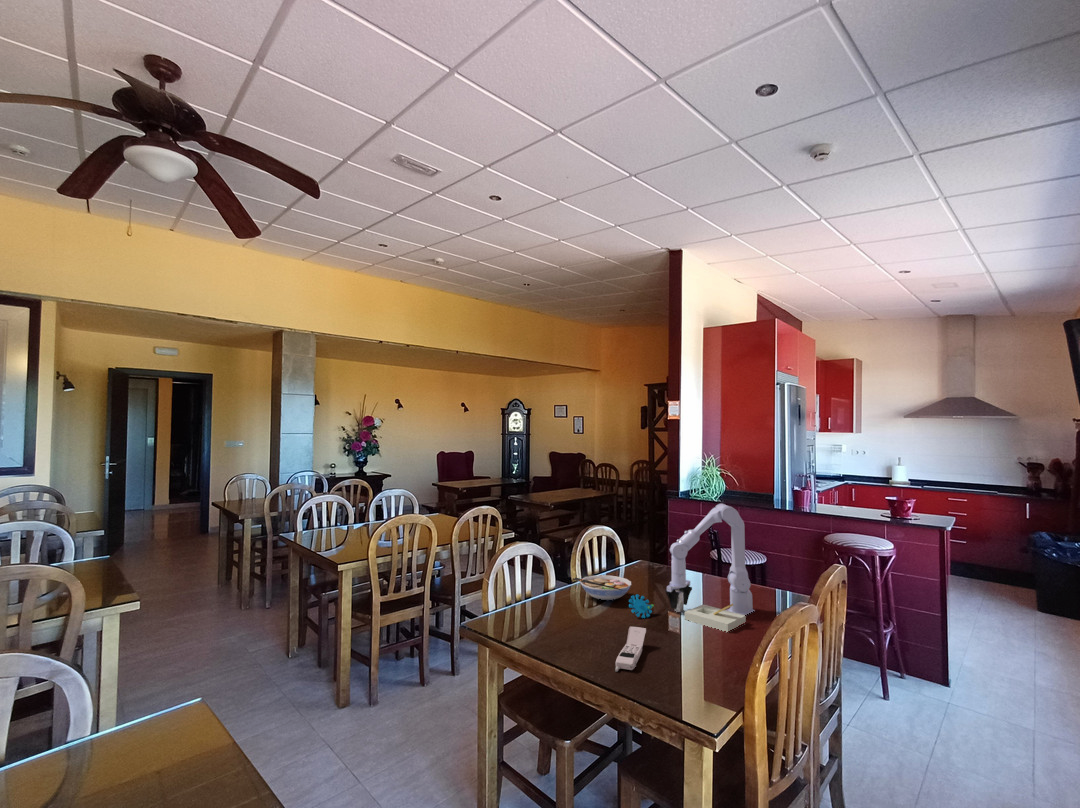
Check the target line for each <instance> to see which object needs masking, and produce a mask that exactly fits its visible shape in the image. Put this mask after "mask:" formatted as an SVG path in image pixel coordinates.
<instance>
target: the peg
mask: <svg viewBox="0 0 1080 808" xmlns="http://www.w3.org/2000/svg"><path fill="white" fill-rule="evenodd" d="M675 591H676V592H679V596H678V600H677V608H676V609H674V612H675V611H676V612H675V613H677V612H683V613H685V611H684V610H685V609H684V608H685V607H684V606H685V605H684V599H683V591H680V590H679V589H676V590H675Z"/></svg>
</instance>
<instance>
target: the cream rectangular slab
mask: <svg viewBox="0 0 1080 808" xmlns="http://www.w3.org/2000/svg"><path fill="white" fill-rule="evenodd" d="M721 609H722V608H719V607H715V606H711V605H707V604H701V605H698V606H696V607H693V608H690V609H688V610H685V611H684V620H685V619H686V620H685V621H687V620H689V621H688V622H691V621H692V622H691V623H694V622H695V623H694V624H697V623H698V625H700V626H704V625H705V626H704V627H707V626H708V628H711V627H712V628H711V629H714V628H716V629H715V630H717V629H719V630H718V631H721V630H722V631H721V632H724V631H726V632H725V633H727V632H728V631H730V630H732V629H734V628H736V627H738V626H739V625H741V624H743V623H745V622H747V621H746V620H747V619H746V618H747V615H746V616H745V615H741V614H738V613H734V612H730V611H726V610H727V609H725V610H723V611H721V612H719V613H717V614H715V615H714V614H713V613H715V612H717V611H719V610H721ZM738 628H739V627H738ZM736 629H737V628H736ZM734 630H735V629H734ZM732 631H733V630H732ZM730 632H731V631H730ZM728 633H729V632H728Z"/></svg>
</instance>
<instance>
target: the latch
mask: <svg viewBox="0 0 1080 808" xmlns="http://www.w3.org/2000/svg"><path fill="white" fill-rule="evenodd" d="M731 606H733V604H731V605H730V604H729V605H726V606H725V607H723V608H720V609H721V610H719V611H717V612H715V613H713V614H714V615H715V614H717V613H719V612H721V611H723V610H728V609H730V607H731Z"/></svg>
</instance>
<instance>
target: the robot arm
mask: <svg viewBox="0 0 1080 808" xmlns="http://www.w3.org/2000/svg"><path fill="white" fill-rule="evenodd" d="M722 520H723V521H724V522H725V523H726V524H728V525H729V526H730V532H731V533H730V534H731V535H730V537H731V538H730V539H731V566H730V567H729V572H728V575H727V580H728V583H729V584H730V586H729V605H731V604H733V606H731V607H729V608H727V609H725V610H726V611H730V612H734V613H738V614H741V615H746V616H748V615H750V614H752V613H754V612H755V611H756V610H755V609H753V603H754V602H753V594H752V592H751V590H750V589H751V581H750V579H749V573H748V570H747V568H746V545H745V544H746V541H745V539H746V538H745V537H746V536H745V535H746V534H745V533H746V532H745V526H746V525H745V522H744V519H743V518H742V517H741V515H740V514H739V511H738V510H737V509H735V508H734V507H733V506H732V505H731V506H730V505H726V504H725V503H718V504H716V505H715V507H712V509H711V510H709V512H708V513H707V515H705V516H704V518H703V519H702V520H701V521H700V522H699V523H698V524H697V525H696V526H695V528H693V529H688V530H684V534H683V535H682V536H681V537H680V538H679V539H678V538H677V540H676V542H673V543H672V544H671V545H670V548H669V552H670V554H671V562H670V563H671V580H670V581H669V585H667V586H666V589H665V594H666V596H667V597H668V598H667V599H668V601H669V604H670V605H669V606H670V608H671V609H674V610H675V609H676V608H677V600H678V596H679V592H676V591H675V590H680V591H683V599H684V606H688V605H687V604H688V602H689V597H690V594H691V592H692V590H693V587H692V586H691V580H688V579H687V573H686V571H687V570H686V569H687V568H686V566H687V564H686V557H687V556H688V552H689V551H690V550H691V549H692V548H693V547H694V546H695V545H696V544H697V543H698V542H699V541H700V536H701V535H702V534H703V533H704V532H705V531H707V530H708V529H709V528H710V527H711V526H713V525H714V524H716V523H717V524H718V523H723V521H722ZM753 611H754V612H753ZM751 612H752V613H751ZM749 613H750V614H749ZM747 614H748V615H747Z"/></svg>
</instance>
